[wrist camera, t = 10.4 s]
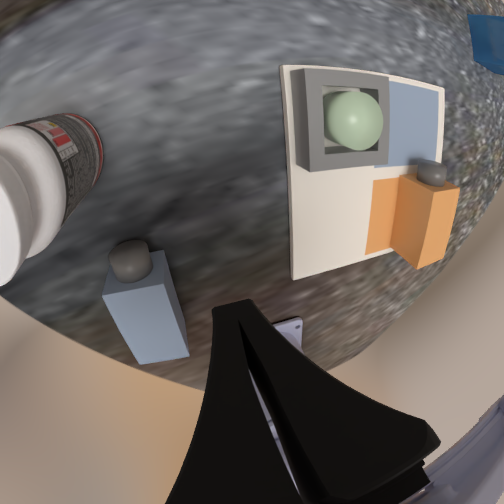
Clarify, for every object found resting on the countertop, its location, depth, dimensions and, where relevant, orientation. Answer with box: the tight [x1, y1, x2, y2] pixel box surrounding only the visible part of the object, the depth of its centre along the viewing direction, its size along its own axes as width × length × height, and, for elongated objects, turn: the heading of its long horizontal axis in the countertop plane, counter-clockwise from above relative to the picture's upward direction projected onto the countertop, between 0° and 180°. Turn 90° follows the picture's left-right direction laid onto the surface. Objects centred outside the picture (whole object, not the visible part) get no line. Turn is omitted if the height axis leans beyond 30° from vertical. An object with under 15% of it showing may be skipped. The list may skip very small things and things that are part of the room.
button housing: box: [290, 68, 390, 172], centre depth 15 cm, size 6×6×2 cm
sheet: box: [279, 65, 444, 280], centre depth 19 cm, size 16×16×1 cm
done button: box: [323, 91, 383, 150], centre depth 14 cm, size 4×4×2 cm
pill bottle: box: [0, 114, 103, 286], centre depth 9 cm, size 6×6×10 cm
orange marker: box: [389, 159, 460, 270], centre depth 20 cm, size 8×4×4 cm, turn 6°
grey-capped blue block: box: [102, 240, 190, 364], centre depth 18 cm, size 8×4×4 cm, turn 4°
